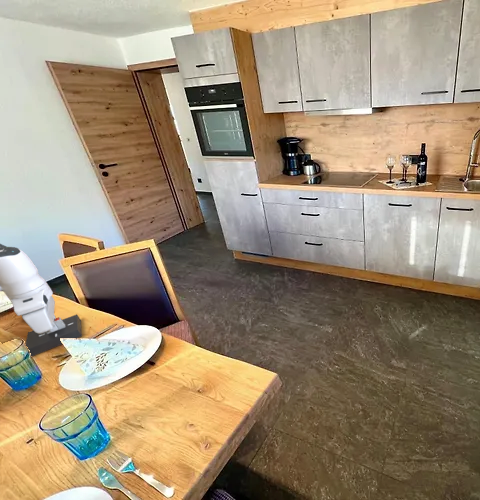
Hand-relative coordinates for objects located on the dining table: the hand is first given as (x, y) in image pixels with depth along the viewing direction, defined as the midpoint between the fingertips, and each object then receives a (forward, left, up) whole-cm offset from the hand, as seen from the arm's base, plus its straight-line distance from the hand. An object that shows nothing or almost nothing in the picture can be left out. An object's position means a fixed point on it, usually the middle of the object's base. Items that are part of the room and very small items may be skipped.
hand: (55, 327), depth 98 cm
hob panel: (-1, 0, -4) cm, 4 cm away
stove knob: (0, 0, -1) cm, 1 cm away
